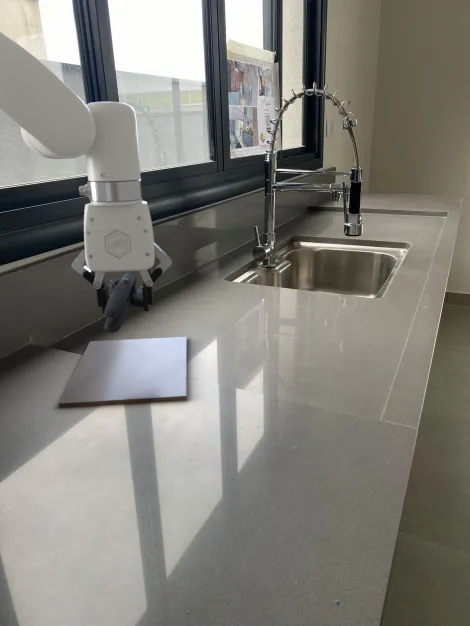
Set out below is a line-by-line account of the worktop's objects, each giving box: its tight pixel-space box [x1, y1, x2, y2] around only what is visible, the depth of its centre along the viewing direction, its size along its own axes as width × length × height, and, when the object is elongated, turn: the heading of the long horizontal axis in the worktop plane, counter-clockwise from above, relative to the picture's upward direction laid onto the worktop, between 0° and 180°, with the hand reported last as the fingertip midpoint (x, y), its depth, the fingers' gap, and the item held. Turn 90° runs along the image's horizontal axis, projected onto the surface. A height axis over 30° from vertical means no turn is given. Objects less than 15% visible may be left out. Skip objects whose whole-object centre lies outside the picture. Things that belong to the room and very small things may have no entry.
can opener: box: [103, 271, 144, 334], centre depth 78 cm, size 18×7×6 cm, turn 178°
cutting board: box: [57, 336, 188, 409], centre depth 82 cm, size 18×24×2 cm
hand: (126, 308), depth 79 cm, fingers closed on can opener, 5 cm apart
